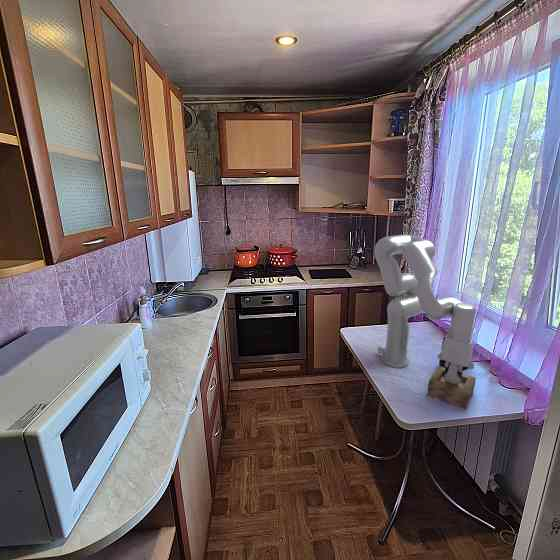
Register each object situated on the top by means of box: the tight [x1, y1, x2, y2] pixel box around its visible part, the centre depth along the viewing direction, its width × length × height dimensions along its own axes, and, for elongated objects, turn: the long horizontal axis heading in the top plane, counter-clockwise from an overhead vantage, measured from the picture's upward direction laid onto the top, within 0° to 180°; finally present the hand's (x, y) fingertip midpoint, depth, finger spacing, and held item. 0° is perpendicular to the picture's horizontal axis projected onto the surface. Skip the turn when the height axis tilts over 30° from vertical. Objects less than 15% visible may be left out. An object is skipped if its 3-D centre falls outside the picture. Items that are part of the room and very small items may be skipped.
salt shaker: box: [444, 363, 461, 386], centre depth 127 cm, size 6×6×13 cm
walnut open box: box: [426, 365, 477, 411], centre depth 129 cm, size 14×14×7 cm
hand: (452, 376), depth 128 cm, fingers closed on salt shaker, 3 cm apart
